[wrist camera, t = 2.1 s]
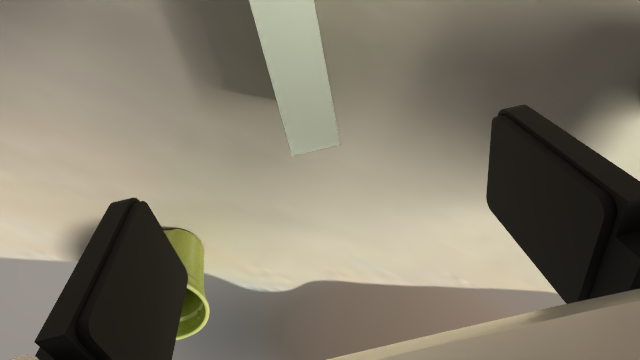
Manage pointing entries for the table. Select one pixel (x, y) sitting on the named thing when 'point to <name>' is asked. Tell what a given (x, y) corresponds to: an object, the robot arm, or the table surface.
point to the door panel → (297, 72)
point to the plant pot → (191, 282)
